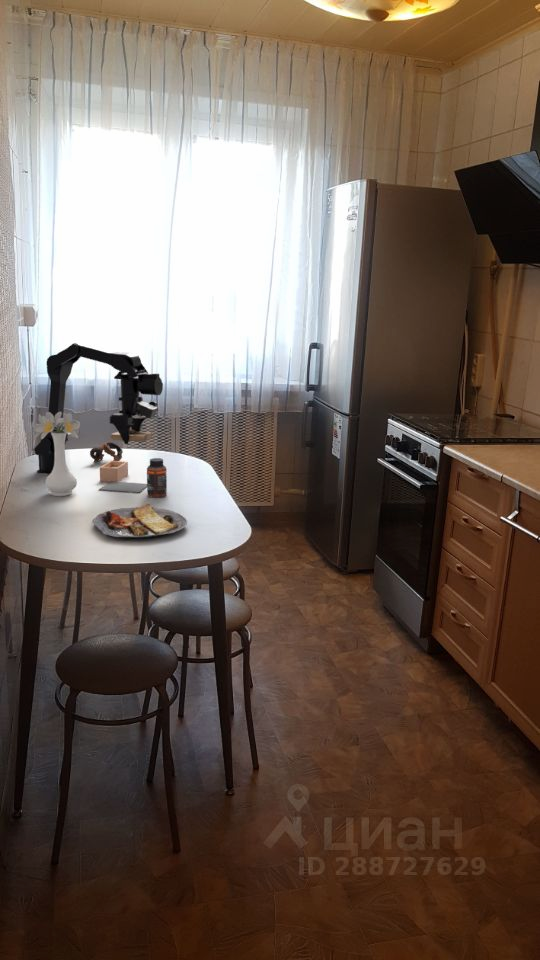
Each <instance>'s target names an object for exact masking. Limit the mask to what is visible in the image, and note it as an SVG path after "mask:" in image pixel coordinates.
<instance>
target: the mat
mask: <svg viewBox="0 0 540 960" xmlns="http://www.w3.org/2000/svg"><path fill="white" fill-rule="evenodd" d="M145 489H147V483H141V482H140V483H139V482H127V481H119V482H114V481H110V482H109V481H108V483H106V484H105V485H102V486H101V487H100V488H99V489H98V491H103V492H104V491H105V492H106V491H107V492H115V491H118V493H129V492H132V494H140V493H141V492H143V491H144V490H145ZM142 490H143V491H142Z"/></svg>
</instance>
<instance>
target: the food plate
mask: <svg viewBox="0 0 540 960" xmlns="http://www.w3.org/2000/svg"><path fill="white" fill-rule="evenodd" d="M91 523H92V524H93V525H94V526H95V527H96V529H98V530H99V531H101V532H102V534H104V535H107V536H110V537H111V536H112V537H114V538H133V539H135V538H139V539H140V538H150V537H157V536H161V535H166V534H173V533H175V532H178V531H181V530H182V529H184V528H185V527H186V526H187V525H188V520H187V519H186V518H185V517H184V516H183V515H182V514H180V513H178V512H175V511H173V510H169V509H165V508H159V507H157V508H156V507H153V506H152V507H151V504H150V503H147V504H145V505H142V506H140V507H139V506H138V507H137V506H135V507H123V508H122V507H120V508H117V509H111V510H106V511H105V512H101V513H99V514H97V515H96V516H95V517H94V518H93V519H92V521H91ZM135 523H136V524H135ZM120 531H121V532H120ZM118 532H119V533H118ZM149 533H152V534H149ZM131 534H132V535H131Z"/></svg>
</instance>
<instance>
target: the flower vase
mask: <svg viewBox="0 0 540 960" xmlns="http://www.w3.org/2000/svg"><path fill="white" fill-rule="evenodd" d="M61 415H62V412H58V413H57V414H56V415H55V419H54V416H53V415H52V414H51V413H50V412H48V411H47V412H46V413H45V415H41V414H40V413H39V415H38V422H39V423H36V424H34V426H33V430H34V431H35V435H34V439H35V440H36V439H37V438H38V437H39V436H40V440H41V439H43V438H44V437H45V436H46V435H47V434H48V433H49V432H51V435H52V436H53V440H54V447H55V462H54V468H53V470H52V472H51V473H49V475H48V476H47V477H46V479H45V481H44V483H45V484H44V485H45V488H46V489H47V490H48V491H50V495H52V496H54V497H65V496H69V495H71V494H72V493H73V490H75V488H76V487H77V485H78V481H77V478H76V477H75V475H74V474H73V473H71V471H70V470H69V468H68V465H67V462H66V461H67V460H66V447H65V446H66V444H65V437H66V434H68V436H70V437H71V438H76V439H79V435H78V434H80V430H79V429H80V428H81V427H80V426H81V423H80V421H78V420H76V419H73V415H72V413H70V412H69V413H66V412H63V418H60V417H61ZM54 427H56V428H57V429H56V428H54ZM60 427H61V429H60V431H59V428H60ZM53 430H57V431H53Z"/></svg>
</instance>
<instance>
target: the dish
mask: <svg viewBox="0 0 540 960" xmlns="http://www.w3.org/2000/svg"><path fill="white" fill-rule="evenodd" d="M128 476H129V462H128V461H122V460H120V461H113V460H110V461H108V462H107V463H104V464H103V465H101V466H99V481H100V482H108V483H109V482H110V481H114V482H118V481H119V482H121V481H122V479H124V478H126V477H128Z"/></svg>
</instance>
